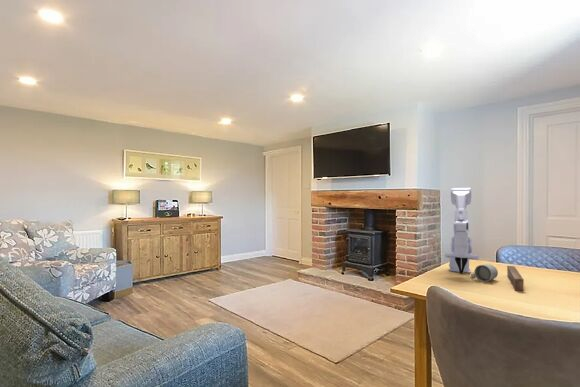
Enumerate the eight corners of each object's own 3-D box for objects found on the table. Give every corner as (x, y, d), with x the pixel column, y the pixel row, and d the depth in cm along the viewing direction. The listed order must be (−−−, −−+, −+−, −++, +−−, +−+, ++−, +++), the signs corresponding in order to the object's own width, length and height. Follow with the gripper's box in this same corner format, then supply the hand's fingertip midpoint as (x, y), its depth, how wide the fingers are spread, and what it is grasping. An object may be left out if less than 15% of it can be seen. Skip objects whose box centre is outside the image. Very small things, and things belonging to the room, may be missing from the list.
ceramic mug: (499, 280, 152) (498, 263, 152) (491, 283, 147) (491, 266, 147) (475, 276, 161) (474, 260, 161) (467, 279, 156) (467, 263, 156)
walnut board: (514, 290, 137) (514, 278, 137) (507, 275, 160) (507, 265, 160) (523, 291, 135) (523, 279, 135) (514, 276, 158) (514, 266, 158)
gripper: (444, 245, 157) (444, 273, 157) (478, 248, 150) (478, 277, 151) (444, 243, 164) (445, 270, 164) (478, 245, 157) (478, 273, 157)
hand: (461, 273), depth 157 cm, fingers closed
